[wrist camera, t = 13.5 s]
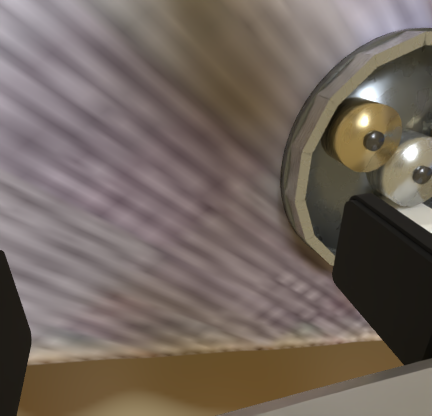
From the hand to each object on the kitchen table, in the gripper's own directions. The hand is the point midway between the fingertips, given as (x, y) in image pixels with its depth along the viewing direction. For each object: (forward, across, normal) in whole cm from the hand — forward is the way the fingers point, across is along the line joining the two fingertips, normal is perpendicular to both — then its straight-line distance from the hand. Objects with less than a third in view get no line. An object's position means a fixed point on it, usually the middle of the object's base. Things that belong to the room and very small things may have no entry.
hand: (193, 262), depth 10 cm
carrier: (+28, -30, +10) cm, 42 cm away
